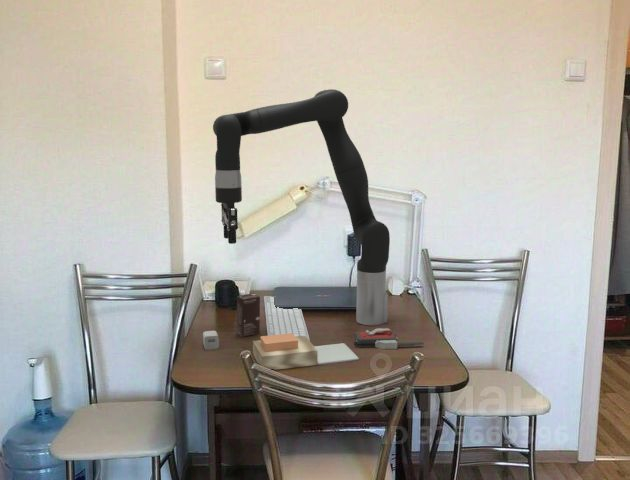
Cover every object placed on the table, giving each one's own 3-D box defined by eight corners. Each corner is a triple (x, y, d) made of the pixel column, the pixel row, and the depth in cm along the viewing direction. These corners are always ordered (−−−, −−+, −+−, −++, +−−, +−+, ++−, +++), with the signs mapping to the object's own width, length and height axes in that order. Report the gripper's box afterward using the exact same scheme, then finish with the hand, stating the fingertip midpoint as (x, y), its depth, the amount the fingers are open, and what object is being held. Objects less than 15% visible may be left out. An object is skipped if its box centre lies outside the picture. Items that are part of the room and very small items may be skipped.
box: (243, 337, 180) (242, 299, 178) (236, 333, 184) (235, 295, 182) (261, 334, 184) (260, 296, 181) (254, 329, 187) (253, 292, 185)
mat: (344, 344, 175) (344, 343, 175) (358, 359, 164) (358, 358, 164) (305, 348, 172) (305, 347, 172) (318, 364, 160) (318, 363, 160)
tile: (292, 340, 167) (292, 333, 166) (298, 348, 161) (298, 340, 161) (260, 344, 164) (260, 336, 164) (265, 351, 159) (265, 344, 158)
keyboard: (310, 343, 178) (310, 335, 177) (267, 345, 176) (267, 337, 176) (297, 300, 221) (297, 294, 220) (263, 301, 219) (263, 295, 219)
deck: (305, 348, 172) (305, 335, 171) (317, 364, 160) (317, 350, 160) (253, 354, 167) (252, 340, 167) (262, 371, 156) (262, 356, 155)
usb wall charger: (204, 350, 171) (204, 336, 170) (202, 341, 178) (201, 328, 177) (218, 348, 172) (218, 335, 171) (216, 340, 179) (215, 327, 178)
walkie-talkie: (355, 351, 171) (424, 349, 172) (355, 336, 170) (424, 334, 172) (350, 340, 179) (416, 338, 181) (350, 326, 178) (416, 324, 180)
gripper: (245, 187, 168) (247, 244, 171) (237, 182, 181) (238, 235, 185) (218, 188, 166) (220, 246, 169) (212, 183, 179) (213, 237, 182)
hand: (229, 240), depth 177 cm, fingers open, 8 cm apart
